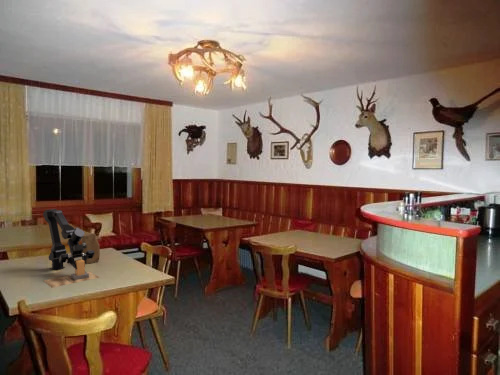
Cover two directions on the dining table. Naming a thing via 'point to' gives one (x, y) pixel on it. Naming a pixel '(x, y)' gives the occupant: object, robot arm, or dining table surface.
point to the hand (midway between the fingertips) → (80, 268)
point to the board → (67, 280)
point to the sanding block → (80, 270)
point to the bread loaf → (91, 247)
